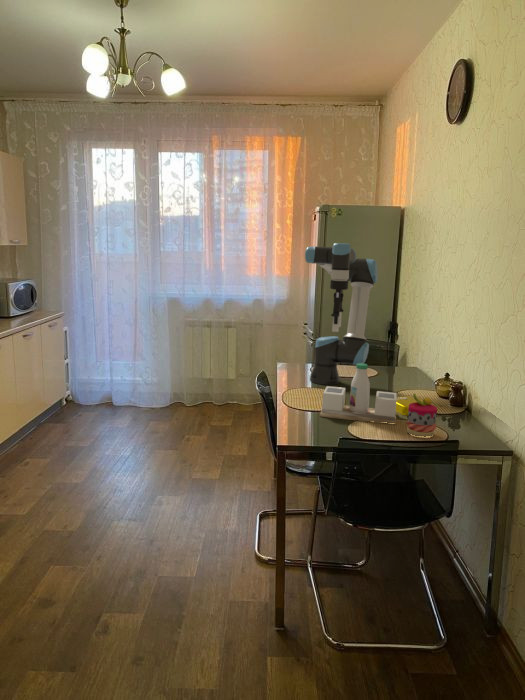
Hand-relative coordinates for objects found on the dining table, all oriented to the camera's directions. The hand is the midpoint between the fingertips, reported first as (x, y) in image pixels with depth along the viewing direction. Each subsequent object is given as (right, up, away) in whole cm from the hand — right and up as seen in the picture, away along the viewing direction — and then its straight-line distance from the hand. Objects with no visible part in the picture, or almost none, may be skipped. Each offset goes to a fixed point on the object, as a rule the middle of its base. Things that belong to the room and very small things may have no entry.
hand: (336, 329), depth 230 cm
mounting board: (+7, -36, -11) cm, 39 cm away
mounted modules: (+8, -35, -12) cm, 37 cm away
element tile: (+32, -36, 0) cm, 48 cm away
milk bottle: (+7, -35, -11) cm, 37 cm away
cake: (+27, -41, -31) cm, 58 cm away
